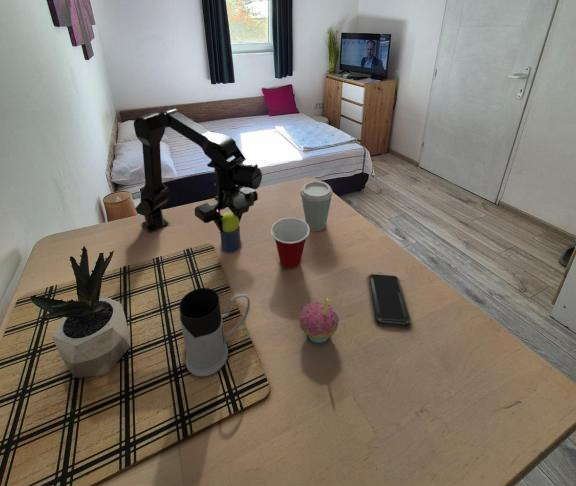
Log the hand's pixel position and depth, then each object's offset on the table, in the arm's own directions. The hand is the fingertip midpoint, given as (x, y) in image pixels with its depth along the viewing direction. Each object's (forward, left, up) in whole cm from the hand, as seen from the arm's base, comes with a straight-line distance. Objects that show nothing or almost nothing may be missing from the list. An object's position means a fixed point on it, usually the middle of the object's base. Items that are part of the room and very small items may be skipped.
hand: (229, 227), depth 98 cm
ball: (0, 0, +2) cm, 2 cm away
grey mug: (+27, -22, -7) cm, 36 cm away
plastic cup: (+18, +8, -7) cm, 21 cm away
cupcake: (+39, -4, -7) cm, 40 cm away
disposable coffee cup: (+11, +27, -7) cm, 30 cm away
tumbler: (0, 0, -7) cm, 7 cm away
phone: (+45, +16, -7) cm, 48 cm away
